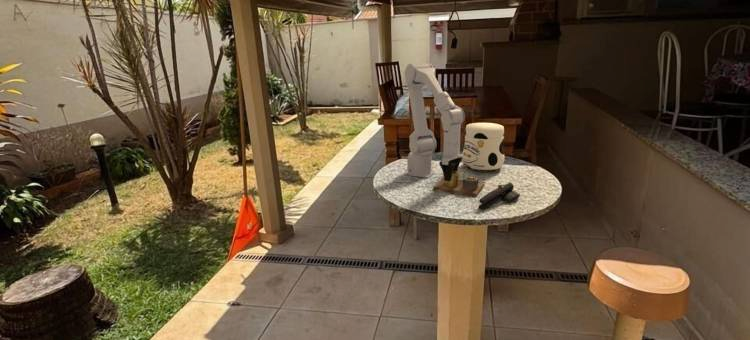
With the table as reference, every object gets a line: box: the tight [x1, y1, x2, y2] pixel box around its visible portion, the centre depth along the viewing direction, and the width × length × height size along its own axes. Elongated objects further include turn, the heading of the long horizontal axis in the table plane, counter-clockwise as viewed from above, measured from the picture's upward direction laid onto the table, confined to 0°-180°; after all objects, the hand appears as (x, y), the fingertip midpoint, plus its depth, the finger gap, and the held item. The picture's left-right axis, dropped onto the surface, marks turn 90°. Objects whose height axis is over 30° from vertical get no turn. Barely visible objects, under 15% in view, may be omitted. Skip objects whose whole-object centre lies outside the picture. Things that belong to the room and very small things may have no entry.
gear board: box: [432, 176, 485, 197], centre depth 142 cm, size 16×11×5 cm
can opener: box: [478, 182, 521, 210], centre depth 129 cm, size 18×7×6 cm, turn 124°
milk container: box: [461, 122, 505, 172], centre depth 162 cm, size 17×17×18 cm
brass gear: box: [444, 170, 460, 187], centre depth 142 cm, size 5×5×5 cm
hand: (450, 177), depth 142 cm, fingers open, 6 cm apart
